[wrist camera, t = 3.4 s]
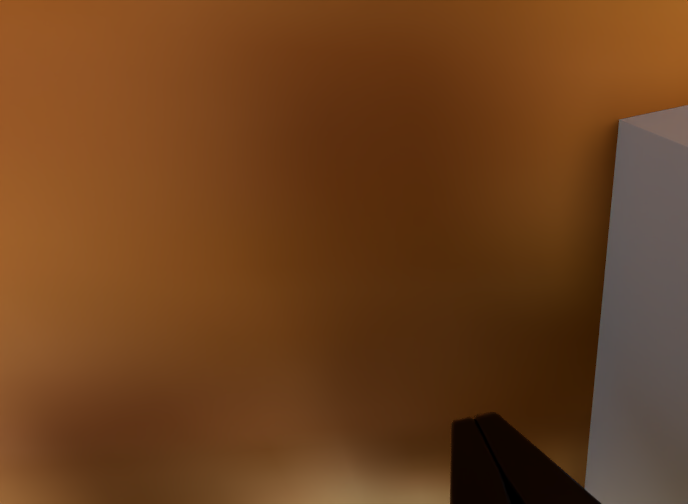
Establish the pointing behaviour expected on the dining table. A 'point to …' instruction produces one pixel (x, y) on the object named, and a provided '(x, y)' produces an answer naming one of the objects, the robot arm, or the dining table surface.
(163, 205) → the dining table surface
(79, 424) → the dining table surface
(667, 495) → the t block
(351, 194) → the dining table surface
